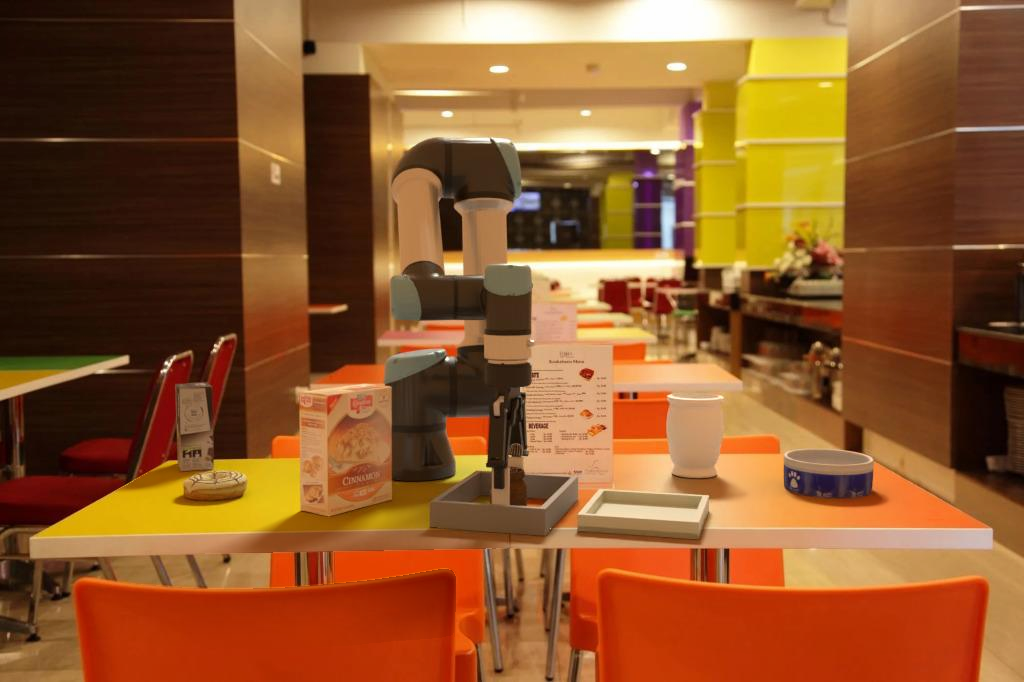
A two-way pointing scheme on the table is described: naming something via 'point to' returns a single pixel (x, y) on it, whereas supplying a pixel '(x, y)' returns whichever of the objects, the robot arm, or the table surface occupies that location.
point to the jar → (694, 433)
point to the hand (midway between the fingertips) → (508, 502)
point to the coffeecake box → (345, 448)
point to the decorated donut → (215, 485)
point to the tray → (644, 513)
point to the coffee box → (194, 426)
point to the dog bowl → (828, 473)
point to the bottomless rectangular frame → (463, 515)
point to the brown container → (516, 484)
